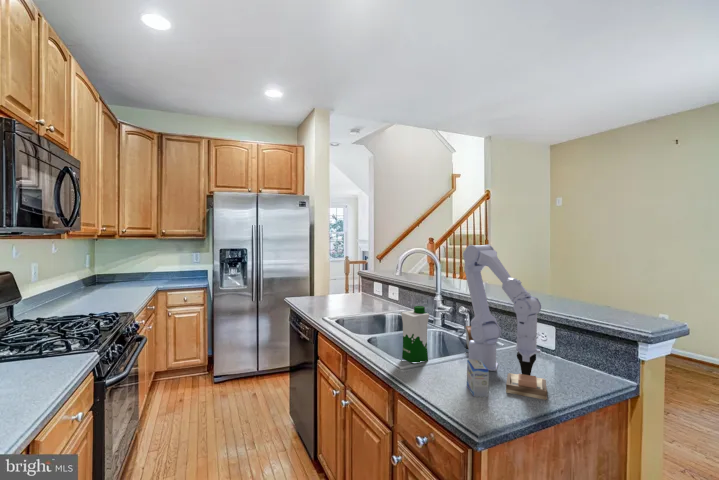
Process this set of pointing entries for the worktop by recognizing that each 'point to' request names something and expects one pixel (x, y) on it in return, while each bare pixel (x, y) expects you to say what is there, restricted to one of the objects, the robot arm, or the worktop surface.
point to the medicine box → (477, 378)
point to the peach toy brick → (527, 381)
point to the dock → (526, 391)
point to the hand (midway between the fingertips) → (526, 376)
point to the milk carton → (415, 334)
